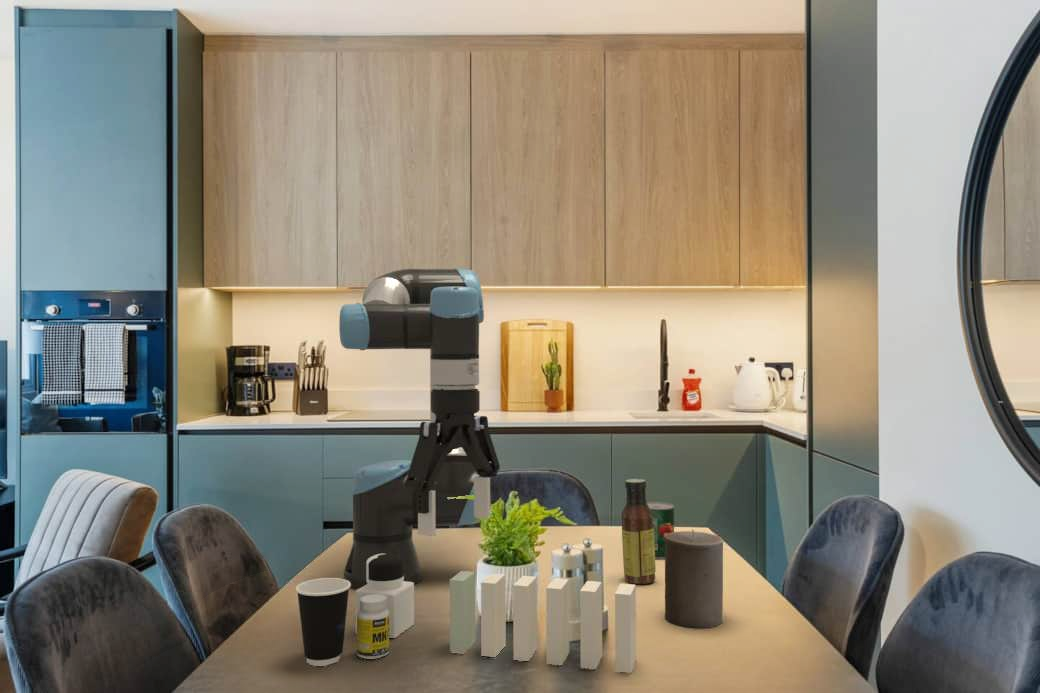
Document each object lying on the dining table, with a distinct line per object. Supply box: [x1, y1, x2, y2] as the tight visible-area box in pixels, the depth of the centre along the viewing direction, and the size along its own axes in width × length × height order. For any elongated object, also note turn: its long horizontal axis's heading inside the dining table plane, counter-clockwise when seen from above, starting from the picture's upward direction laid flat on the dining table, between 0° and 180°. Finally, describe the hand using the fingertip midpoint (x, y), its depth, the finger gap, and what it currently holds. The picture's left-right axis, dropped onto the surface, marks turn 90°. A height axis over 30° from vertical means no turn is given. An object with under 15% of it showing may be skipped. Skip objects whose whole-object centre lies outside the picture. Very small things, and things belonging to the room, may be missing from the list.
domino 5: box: [614, 583, 637, 674], centre depth 111 cm, size 2×5×11 cm, turn 163°
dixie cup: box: [295, 577, 351, 665], centre depth 114 cm, size 8×8×11 cm
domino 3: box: [545, 577, 570, 667], centre depth 114 cm, size 2×5×11 cm, turn 163°
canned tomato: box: [646, 501, 675, 560], centre depth 172 cm, size 8×8×11 cm
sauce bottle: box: [621, 478, 657, 585], centre depth 152 cm, size 6×6×20 cm
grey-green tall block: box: [449, 570, 476, 653], centre depth 118 cm, size 2×5×11 cm, turn 163°
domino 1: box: [480, 572, 507, 658], centre depth 117 cm, size 2×5×11 cm, turn 163°
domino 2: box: [512, 575, 538, 662], centre depth 115 cm, size 2×5×11 cm, turn 163°
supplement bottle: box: [356, 594, 390, 660], centre depth 116 cm, size 5×5×8 cm
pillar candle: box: [664, 529, 724, 629], centre depth 131 cm, size 10×10×15 cm
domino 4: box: [579, 580, 603, 670], centre depth 112 cm, size 2×5×11 cm, turn 163°
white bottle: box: [354, 553, 415, 639], centre depth 126 cm, size 7×7×12 cm
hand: (455, 526), depth 119 cm, fingers open, 13 cm apart
